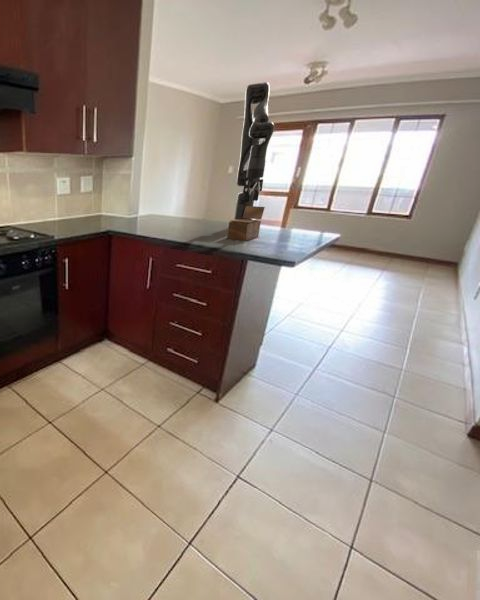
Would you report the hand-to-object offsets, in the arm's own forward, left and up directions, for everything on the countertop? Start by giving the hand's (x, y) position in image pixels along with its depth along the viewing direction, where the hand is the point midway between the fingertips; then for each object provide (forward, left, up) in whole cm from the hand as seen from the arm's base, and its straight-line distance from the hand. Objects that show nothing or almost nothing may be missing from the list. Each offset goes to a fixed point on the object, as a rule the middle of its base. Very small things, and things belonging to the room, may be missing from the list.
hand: (251, 201), depth 171 cm
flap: (-4, 0, -6) cm, 7 cm away
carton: (+3, 0, -18) cm, 18 cm away
